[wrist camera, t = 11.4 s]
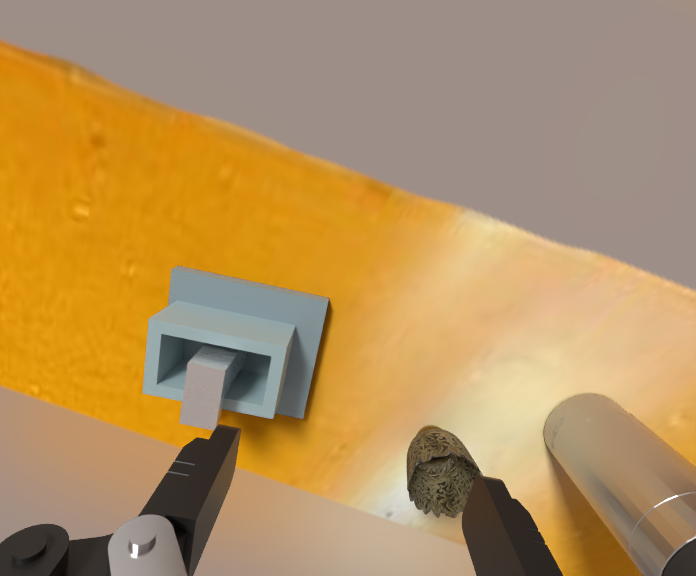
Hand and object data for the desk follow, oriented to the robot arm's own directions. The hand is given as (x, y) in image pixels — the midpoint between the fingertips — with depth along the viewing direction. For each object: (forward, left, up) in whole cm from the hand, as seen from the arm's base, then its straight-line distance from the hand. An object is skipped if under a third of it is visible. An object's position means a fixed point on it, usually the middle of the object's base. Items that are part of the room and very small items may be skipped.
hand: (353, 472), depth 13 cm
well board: (+10, +10, -28) cm, 31 cm away
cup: (-13, +17, -28) cm, 35 cm away
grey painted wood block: (+11, +11, -26) cm, 31 cm away
